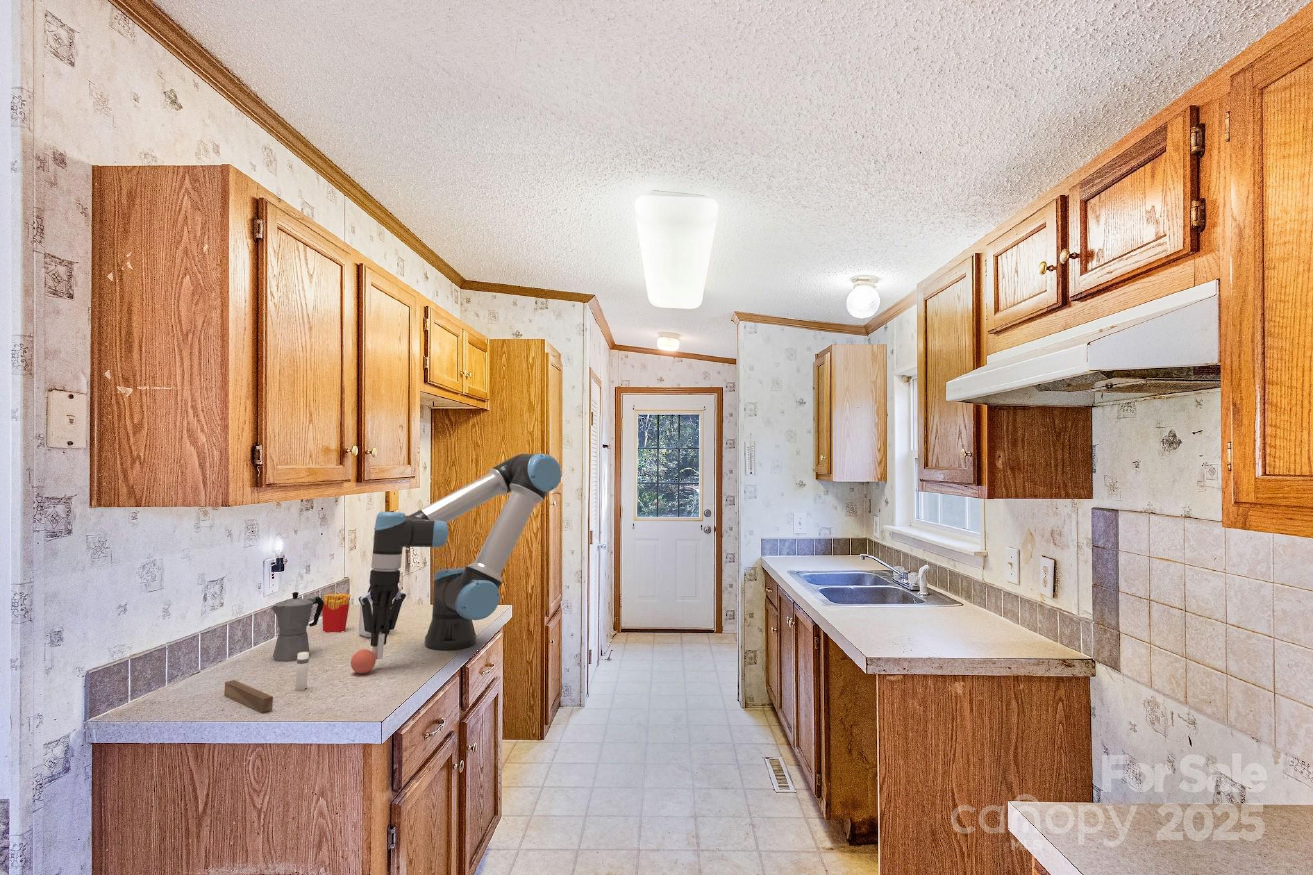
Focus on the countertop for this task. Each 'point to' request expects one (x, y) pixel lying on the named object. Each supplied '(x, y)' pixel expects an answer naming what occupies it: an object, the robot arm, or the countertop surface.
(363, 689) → the countertop surface
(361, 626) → the mug
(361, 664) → the ball
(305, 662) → the pin
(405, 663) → the countertop surface
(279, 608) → the coffeepot
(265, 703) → the long wooden block
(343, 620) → the french fries
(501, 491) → the robot arm
